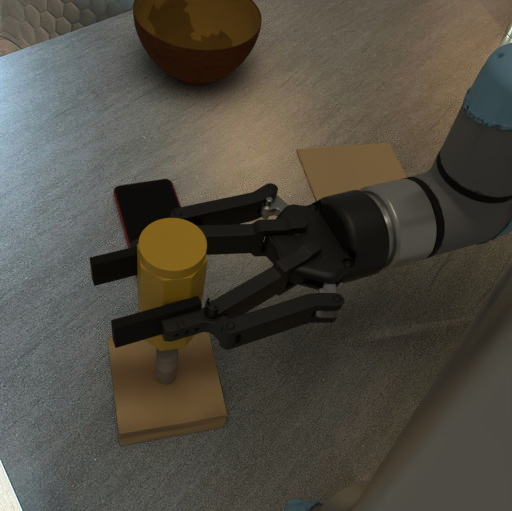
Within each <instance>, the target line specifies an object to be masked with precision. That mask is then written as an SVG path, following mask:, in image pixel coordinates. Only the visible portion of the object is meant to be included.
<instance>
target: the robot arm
mask: <svg viewBox="0 0 512 511" xmlns="http://www.w3.org/2000/svg"><path fill="white" fill-rule="evenodd" d="M278 190H279V187H278V185H277V184H275V183H272V182H269V183H266V184H264V185H262V186H261V187H258V188H257V189H255V190H254V191H252V192H251V191H250V192H246V193H243V194H237V195H232V196H227V197H223V198H218V199H213V200H209V201H208V200H207V201H204V202H199V203H194V204H189V205H184V206H181V207H179V208H175V209H173V210H172V211H171V218H179V219H184V220H187V221H189V222H191V223H193V224H195V225H196V226H197V227H198V228H199V229H200V230H201V231H202V232H203V234H204V235H205V238H206V241H207V251H206V254H207V256H214V255H215V256H216V255H217V256H218V255H239V254H240V255H241V254H243V255H245V254H251V255H252V256H253V257H256V258H257V257H266V258H267V259H268V260H269V262H271V264H272V266H271V267H269V268H267V269H265V270H264V271H261V272H260V273H258V274H256V275H255V276H253V277H251V278H249V279H248V280H246V281H244V282H242V283H241V284H239V285H237V286H236V287H233V288H232V289H230V290H228V291H226V292H225V293H223V294H221V295H219V296H218V297H216V298H214V299H211V298H210V297H208V298H206V300H205V304H204V307H203V302H202V303H201V301H200V299H199V296H196V297H192V298H188V299H185V300H181V301H178V302H174V303H171V304H167V305H163V306H160V307H156V308H153V309H149V310H146V311H142V312H138V311H137V312H135V313H132V314H128V315H124V316H121V317H118V318H117V317H116V318H114V319H110V323H111V324H110V325H111V337H112V338H113V342H114V345H115V348H118V347H121V346H124V345H128V344H131V343H135V342H138V341H141V340H145V339H148V338H151V337H155V336H158V335H162V337H163V339H164V341H169V342H172V341H175V340H179V339H182V338H184V337H189V336H192V335H195V334H199V333H202V332H208V333H209V335H210V334H211V335H212V336H213V337H214V338H215V339H216V340H217V341H218V345H219V346H220V348H221V349H223V350H224V351H229V350H230V351H231V350H233V349H236V348H239V347H242V346H245V345H248V344H251V343H253V342H256V341H260V340H263V339H266V338H269V337H272V336H274V335H277V334H281V333H284V332H287V331H289V330H292V329H296V328H300V327H302V326H304V325H308V324H331V323H334V322H336V320H337V318H338V317H339V315H340V312H341V310H342V308H343V306H344V304H345V298H344V296H343V295H342V294H341V293H338V286H339V285H340V284H347V283H351V282H355V281H357V280H361V279H364V278H367V277H371V276H374V275H377V274H379V273H380V272H385V271H390V270H393V269H396V268H399V267H403V266H406V265H410V264H413V263H417V262H420V261H423V260H426V259H430V258H432V257H435V256H438V255H439V256H440V255H442V254H445V253H449V252H450V253H451V252H453V251H458V250H461V249H464V248H468V247H472V246H477V245H483V244H487V243H489V242H490V241H495V240H497V239H498V238H500V237H503V236H505V235H507V234H510V233H512V42H509V43H506V44H505V43H504V44H503V45H501V46H498V48H496V49H494V51H492V53H491V54H489V56H488V57H487V59H486V60H485V63H484V64H483V65H482V67H481V69H480V70H479V72H478V74H477V75H476V77H475V79H474V81H473V82H472V84H471V86H470V87H469V88H468V89H467V90H466V92H465V94H464V98H463V101H462V104H461V106H460V108H459V111H458V112H457V115H456V116H455V119H454V120H453V123H452V125H451V127H450V129H449V131H448V133H447V135H446V138H445V140H444V142H443V144H442V146H441V147H440V149H439V151H438V153H437V154H436V157H435V158H434V160H433V163H432V164H431V167H430V168H429V170H427V171H425V172H423V173H419V174H416V175H412V176H407V178H403V179H398V180H393V181H389V182H384V183H380V184H375V185H371V186H366V187H363V188H361V189H360V190H352V191H347V192H343V193H339V194H335V195H330V196H326V197H323V198H321V199H319V200H318V201H316V200H315V201H314V202H313V203H311V204H307V205H304V204H303V205H302V204H295V203H293V204H288V203H287V202H286V201H285V200H283V199H282V198H281V197H280V196H279V195H278ZM272 216H273V217H274V216H275V218H270V219H269V217H272ZM260 218H262V219H260ZM253 221H254V222H253ZM250 222H252V223H250ZM138 243H139V239H135V240H134V241H132V242H130V248H129V247H127V248H123V249H119V250H116V251H111V252H107V253H102V254H99V255H94V256H91V257H89V266H90V276H91V280H92V283H93V286H94V287H96V286H100V285H103V284H108V283H112V282H115V281H120V280H124V279H127V278H131V277H135V276H137V275H138V274H137V245H138ZM297 286H301V287H305V288H309V289H311V290H312V289H313V290H314V292H312V293H307V294H304V295H299V296H297V297H293V298H290V299H287V300H284V301H281V302H278V303H275V304H272V305H269V306H265V307H262V308H259V309H255V308H257V307H258V306H260V305H262V304H263V303H265V302H267V301H269V300H270V299H272V298H273V297H275V296H277V297H278V296H282V295H283V294H286V292H288V291H291V289H293V288H295V287H297ZM210 299H211V300H210ZM201 306H202V307H201ZM253 309H255V310H253ZM252 310H253V311H252ZM283 511H512V258H511V259H510V260H509V261H508V263H507V265H506V267H505V268H504V269H503V271H502V273H501V274H500V276H499V277H498V279H497V280H496V282H495V283H494V285H493V287H492V288H491V289H490V291H489V293H488V295H486V298H485V299H484V301H483V303H482V304H481V306H480V307H479V309H478V310H477V312H476V313H475V315H474V317H473V318H472V320H471V321H470V323H469V324H468V326H467V327H466V329H465V331H464V332H463V334H462V335H461V337H460V339H459V340H458V342H457V343H456V345H455V347H454V348H453V349H452V351H451V353H450V354H449V355H448V358H446V360H445V362H444V363H443V365H442V367H441V368H440V369H439V372H438V373H437V375H436V376H435V377H434V379H433V381H432V382H431V384H430V386H429V387H428V389H427V390H426V392H425V393H424V394H423V396H422V398H421V399H420V401H419V403H418V405H417V406H416V408H415V409H414V411H413V412H412V413H411V415H410V417H409V419H408V420H407V422H406V423H405V424H404V427H403V428H402V430H401V431H400V433H399V435H398V436H397V438H396V439H395V440H394V442H393V443H392V446H391V447H390V448H389V450H388V451H387V453H386V454H385V457H384V458H383V459H382V461H381V462H380V464H379V466H378V467H377V469H376V470H375V472H374V474H372V477H371V478H370V480H365V481H364V480H363V481H359V482H355V483H352V484H349V485H348V486H346V487H344V488H342V489H339V490H337V492H336V493H334V494H332V495H331V496H330V497H328V499H327V500H326V501H325V502H324V503H322V502H320V501H318V500H317V499H310V500H307V499H303V498H298V497H296V498H292V499H290V500H288V502H287V503H286V504H285V506H284V509H283Z"/></svg>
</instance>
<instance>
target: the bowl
mask: <svg viewBox="0 0 512 511" xmlns="http://www.w3.org/2000/svg"><path fill="white" fill-rule="evenodd" d="M132 15H133V23H134V28H135V31H136V35H137V36H138V39H139V41H140V43H141V46H142V47H143V49H144V51H145V52H146V54H147V55H148V57H149V58H150V60H151V61H152V62H153V63H154V64H155V65H156V66H157V67H158V68H159V69H160V70H162V71H163V72H165V73H166V74H168V75H169V76H171V77H173V78H175V79H177V80H178V81H180V82H182V83H184V84H188V85H191V86H201V85H205V84H209V83H210V82H215V81H219V80H221V79H223V78H226V77H227V76H229V75H231V74H232V73H233V72H234V71H236V70H237V69H238V68H239V67H241V65H242V64H243V63H244V62H245V60H247V58H248V57H249V55H250V54H251V52H252V51H253V49H254V48H255V45H256V43H257V41H258V38H259V35H260V32H261V28H262V23H263V22H262V20H263V18H262V13H261V10H260V8H259V7H258V5H257V4H256V3H255V1H254V0H134V1H133V4H132Z"/></svg>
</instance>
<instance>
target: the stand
mask: <svg viewBox="0 0 512 511" xmlns="http://www.w3.org/2000/svg"><path fill="white" fill-rule="evenodd" d="M107 346H108V356H109V364H110V372H111V373H110V374H111V380H112V390H113V398H114V407H115V416H116V423H117V432H118V440H119V442H118V443H119V446H120V447H122V446H129V445H135V444H139V443H144V442H151V441H156V440H161V439H166V438H171V437H172V438H173V437H177V436H184V435H187V434H194V433H199V432H205V431H211V430H216V429H222V428H225V426H226V422H227V418H228V412H227V406H226V403H225V402H226V401H225V399H224V393H223V390H222V389H223V388H222V385H221V380H220V376H219V372H218V367H217V363H216V358H215V353H214V349H213V345H212V340H211V336H210V333H208V332H202V333H199V334H196V335H195V336H194V337H193V338H192V339H191V341H190V342H189V343H188V344H187V346H186V347H184V348H179V349H172V350H165V351H160V350H158V349H157V348H155V347H154V346H152V345H150V344H149V343H147V342H146V341H144V340H141V341H138V342H135V343H131V344H128V345H124V346H121V347H118V348H115V345H114V342H113V338H112V336H111V337H107Z"/></svg>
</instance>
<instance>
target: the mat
mask: <svg viewBox="0 0 512 511" xmlns="http://www.w3.org/2000/svg"><path fill="white" fill-rule="evenodd" d="M295 151H296V154H297V156H298V159H299V163H300V164H301V167H302V170H303V172H304V175H305V177H306V180H307V182H308V185H309V188H310V189H311V193H312V194H313V197H314V200H315V202H316V201H318V200H319V199H321V198H323V197H326V196H330V195H335V194H339V193H343V192H347V191H352V190H360V189H361V188H363V187H366V186H371V185H375V184H380V183H384V182H389V181H393V180H398V179H403V178H407V177H408V176H407V174H406V172H405V170H404V169H403V166H402V165H401V163H400V161H399V158H398V157H397V155H396V153H395V150H394V149H393V147H392V145H391V143H390V142H378V143H363V144H350V145H349V144H347V145H334V146H319V147H305V148H304V147H303V148H296V150H295Z"/></svg>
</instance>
